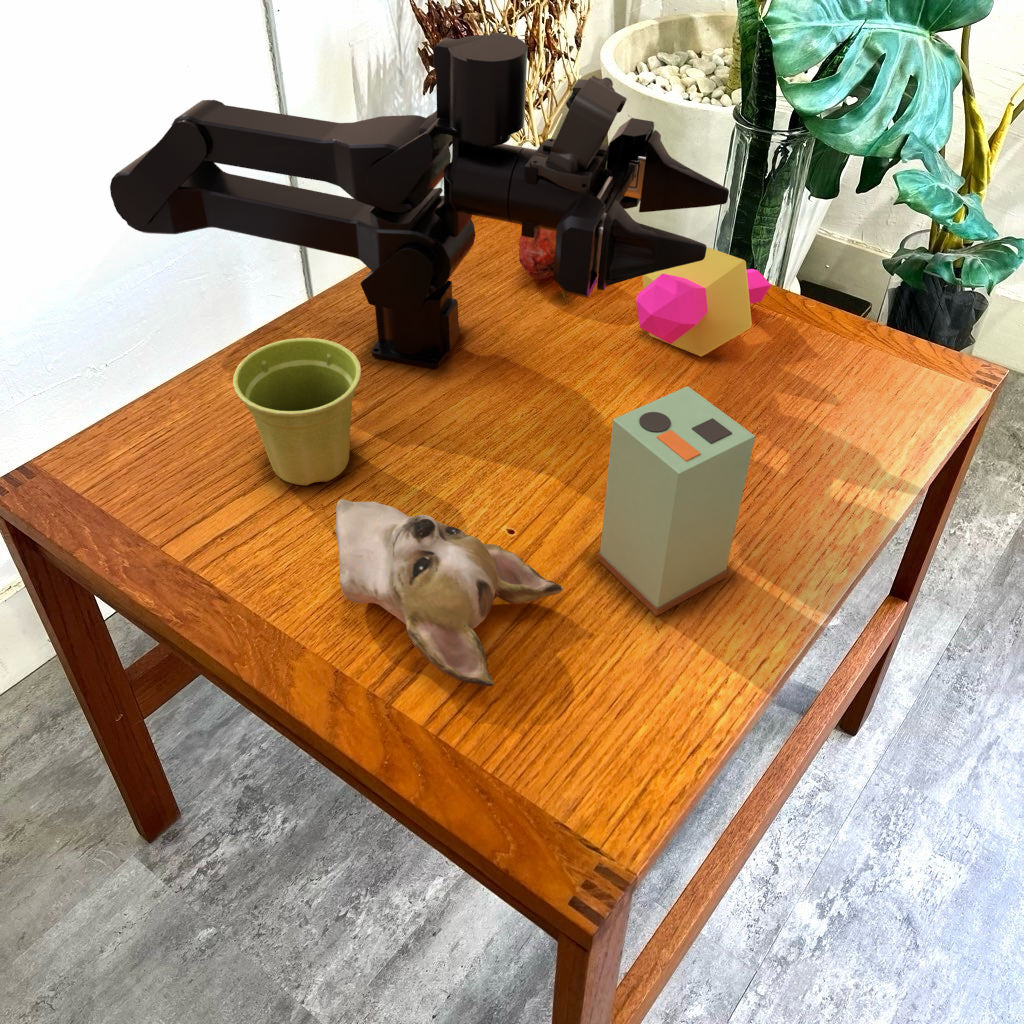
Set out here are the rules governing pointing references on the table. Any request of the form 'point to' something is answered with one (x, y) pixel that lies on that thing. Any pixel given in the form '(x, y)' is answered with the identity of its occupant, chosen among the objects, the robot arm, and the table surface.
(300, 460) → the plant pot
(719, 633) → the table surface
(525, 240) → the pomegranate
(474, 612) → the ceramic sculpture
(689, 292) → the toy
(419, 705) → the table surface
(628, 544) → the shape sorter
